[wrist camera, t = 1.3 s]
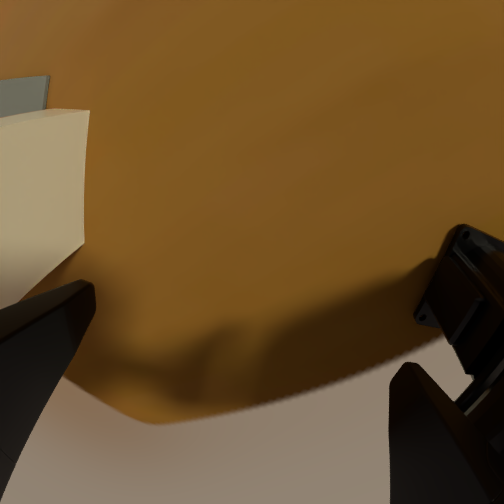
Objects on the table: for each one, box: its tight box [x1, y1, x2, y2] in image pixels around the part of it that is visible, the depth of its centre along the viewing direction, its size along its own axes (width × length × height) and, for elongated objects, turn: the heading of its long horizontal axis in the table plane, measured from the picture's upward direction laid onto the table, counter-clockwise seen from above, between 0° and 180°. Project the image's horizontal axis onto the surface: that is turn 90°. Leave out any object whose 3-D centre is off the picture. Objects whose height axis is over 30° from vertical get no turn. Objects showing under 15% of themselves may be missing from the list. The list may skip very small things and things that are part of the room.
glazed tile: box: [0, 109, 90, 309], centre depth 11 cm, size 3×8×10 cm, turn 167°
